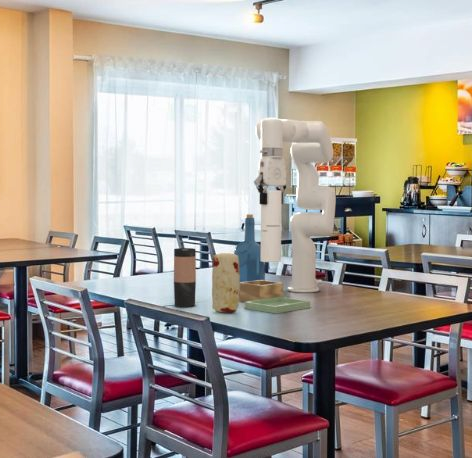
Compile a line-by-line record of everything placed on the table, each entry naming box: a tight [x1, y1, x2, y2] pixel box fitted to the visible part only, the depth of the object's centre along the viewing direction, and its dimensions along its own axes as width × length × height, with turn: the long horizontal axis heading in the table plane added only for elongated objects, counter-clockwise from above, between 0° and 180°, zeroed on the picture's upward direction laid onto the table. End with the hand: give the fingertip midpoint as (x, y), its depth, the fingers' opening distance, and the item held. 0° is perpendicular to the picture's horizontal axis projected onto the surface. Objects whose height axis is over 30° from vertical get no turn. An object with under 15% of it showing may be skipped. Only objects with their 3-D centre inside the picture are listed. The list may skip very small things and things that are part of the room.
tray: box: [244, 296, 311, 314], centre depth 271 cm, size 18×15×2 cm
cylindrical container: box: [260, 189, 282, 263], centre depth 275 cm, size 7×7×25 cm
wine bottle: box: [233, 213, 266, 282], centre depth 328 cm, size 14×13×30 cm
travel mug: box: [173, 247, 197, 308], centre depth 274 cm, size 8×8×20 cm
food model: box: [211, 252, 240, 314], centre depth 261 cm, size 10×7×20 cm
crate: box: [238, 279, 284, 304], centre depth 285 cm, size 12×12×7 cm
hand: (271, 203), depth 275 cm, fingers closed on cylindrical container, 7 cm apart
